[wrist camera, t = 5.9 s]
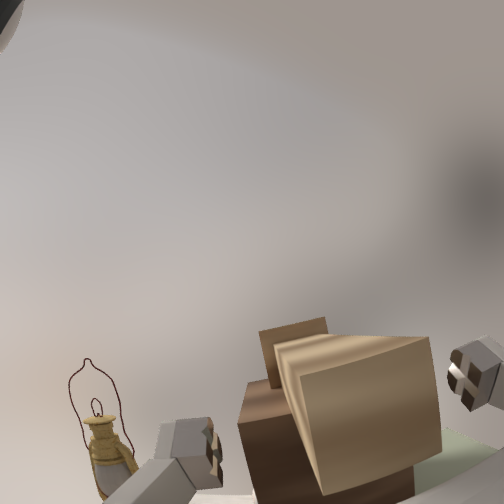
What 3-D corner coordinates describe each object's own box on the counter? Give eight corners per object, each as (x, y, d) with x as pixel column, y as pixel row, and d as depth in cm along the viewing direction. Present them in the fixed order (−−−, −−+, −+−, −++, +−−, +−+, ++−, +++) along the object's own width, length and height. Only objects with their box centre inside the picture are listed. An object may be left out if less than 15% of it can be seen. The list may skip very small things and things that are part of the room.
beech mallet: (466, 439, 5) (444, 285, 6) (290, 503, 5) (252, 336, 6) (325, 367, 24) (314, 318, 25) (269, 380, 24) (258, 331, 25)
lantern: (92, 532, 31) (38, 362, 38) (126, 510, 40) (82, 358, 47) (149, 550, 28) (88, 357, 35) (181, 521, 37) (134, 352, 44)
